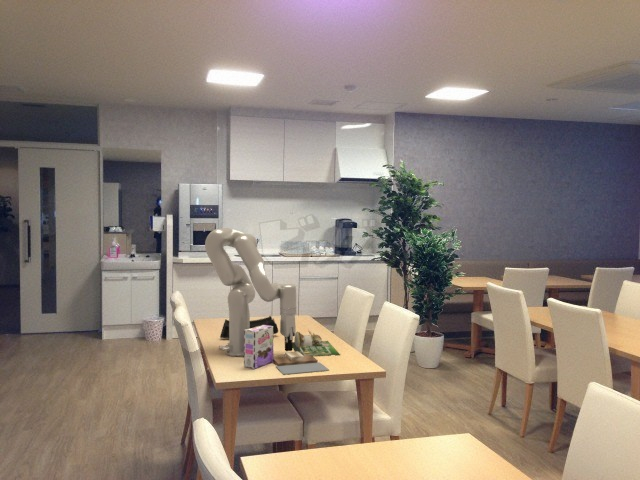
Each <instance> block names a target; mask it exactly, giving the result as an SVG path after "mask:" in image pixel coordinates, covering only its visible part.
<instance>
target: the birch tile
mask: <svg viewBox="0 0 640 480" xmlns="http://www.w3.org/2000/svg"><path fill="white" fill-rule="evenodd" d="M284 357H286V358H287V359H288V360H289V361H291V362H295V361H304V356H303V355H302V354H301V353H299V352H298V351H285V352H284Z"/></svg>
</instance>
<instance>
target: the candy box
mask: <svg viewBox="0 0 640 480" xmlns="http://www.w3.org/2000/svg"><path fill="white" fill-rule="evenodd" d="M273 358H274V334H273V326H268V325H261V326H258V327H254V328H250V329H246V330H244V356H243V367H244V368H248V369H251V370H256V369H259V368H261V367H265V366H267V365H269V364H273V363H274V362H273Z"/></svg>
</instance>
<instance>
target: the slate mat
mask: <svg viewBox="0 0 640 480" xmlns="http://www.w3.org/2000/svg"><path fill="white" fill-rule="evenodd" d="M275 368H276V369H277V370H278V371H279V372H280V373H281V374H282V375H284V376H286V375H297V374H309V373H317V372H318V373H319V372H330V369H329V368H328V367H327V366H325V365H324V364H322V363H321V362H320V361H318V363H308V364H296V365H285V366H277V365H275Z"/></svg>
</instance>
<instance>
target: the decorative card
mask: <svg viewBox="0 0 640 480" xmlns="http://www.w3.org/2000/svg"><path fill="white" fill-rule="evenodd" d="M308 333H309V334H302V333H301V332H300V331H296V334H295V336H294V338H293V340H294V342H293V341H292V350H293V352H295V351H298V352H299V353H301V354H302V355H311V356H313V357H329V356H330V357H331V355H335V356H341V353H339V352H338V350H337V349H336V348H335V347H334V346H333V345H332V343H330V341H329V340H322V337H321V336H320V335H319V334H315V333H312V332H311V331H310V330H308Z"/></svg>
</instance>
